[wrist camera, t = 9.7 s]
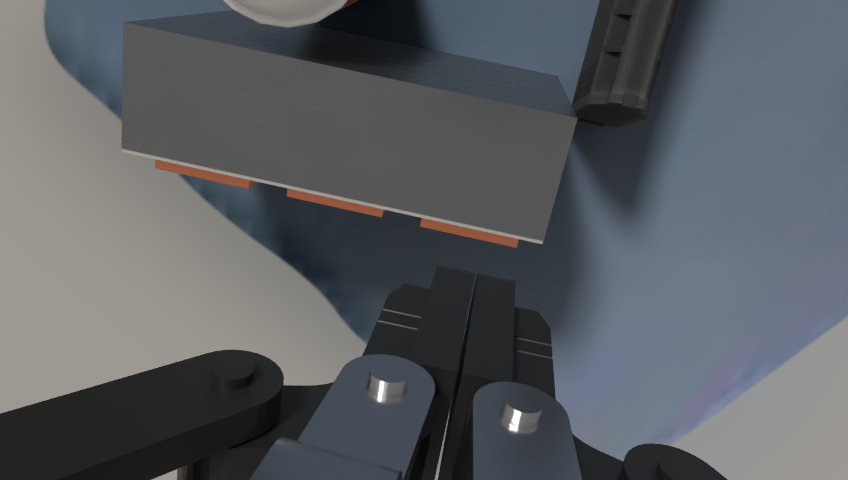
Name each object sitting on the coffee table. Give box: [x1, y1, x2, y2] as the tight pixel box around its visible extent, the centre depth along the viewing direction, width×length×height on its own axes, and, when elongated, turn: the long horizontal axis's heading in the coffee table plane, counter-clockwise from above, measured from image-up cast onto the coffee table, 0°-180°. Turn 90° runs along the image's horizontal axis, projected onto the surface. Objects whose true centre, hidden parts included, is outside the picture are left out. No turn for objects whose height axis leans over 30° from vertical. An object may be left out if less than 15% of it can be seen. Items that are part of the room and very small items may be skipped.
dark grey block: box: [122, 10, 578, 244], centre depth 38 cm, size 21×6×14 cm, turn 80°
